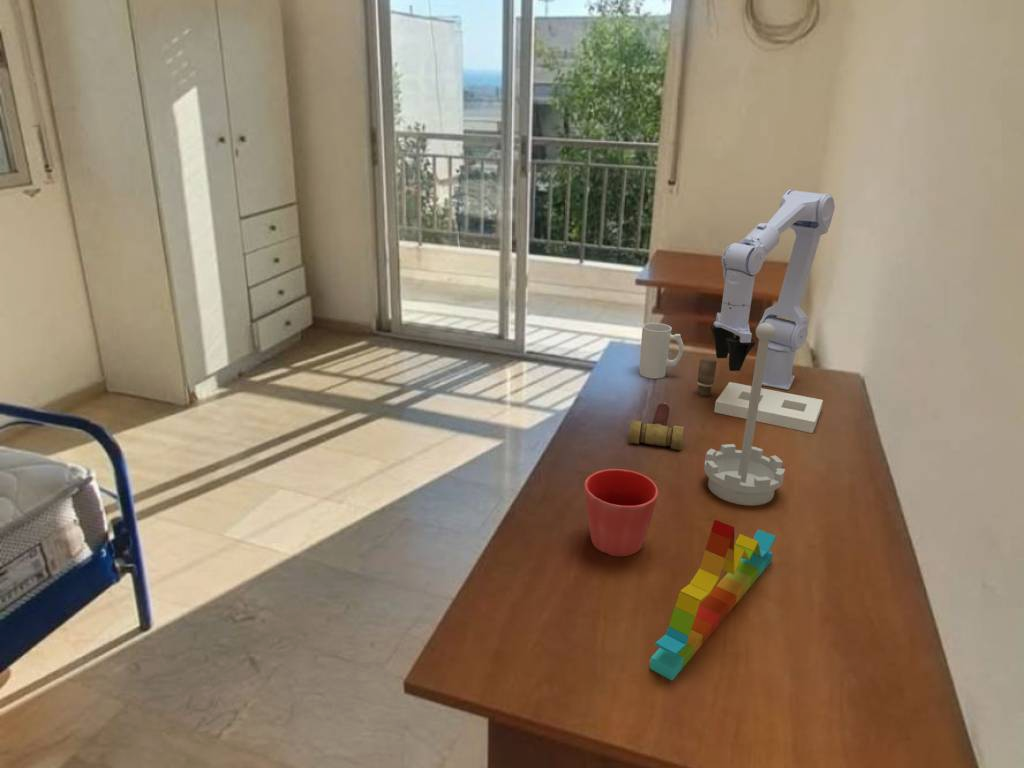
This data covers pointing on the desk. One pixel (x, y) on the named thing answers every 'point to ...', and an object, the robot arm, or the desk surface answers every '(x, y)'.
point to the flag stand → (747, 450)
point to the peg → (706, 376)
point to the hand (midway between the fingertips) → (727, 363)
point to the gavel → (657, 431)
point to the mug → (657, 350)
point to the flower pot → (619, 510)
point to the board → (771, 407)
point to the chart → (711, 594)
